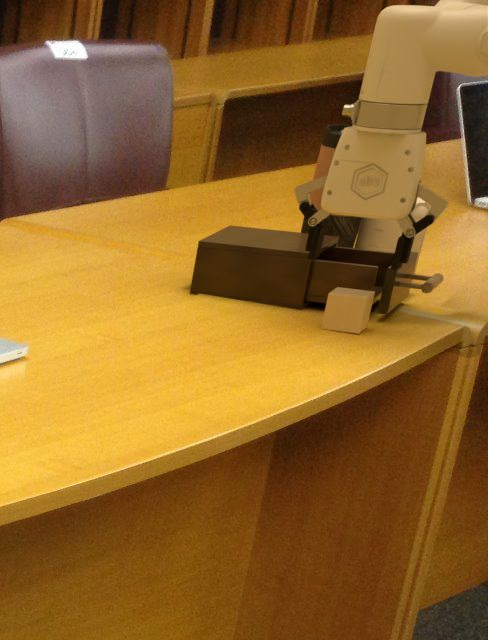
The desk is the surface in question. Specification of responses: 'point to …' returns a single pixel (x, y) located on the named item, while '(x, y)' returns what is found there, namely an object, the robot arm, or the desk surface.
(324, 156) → the travel mug
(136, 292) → the desk surface
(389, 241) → the photo printer
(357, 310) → the block
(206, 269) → the cabinet
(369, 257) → the drawer
